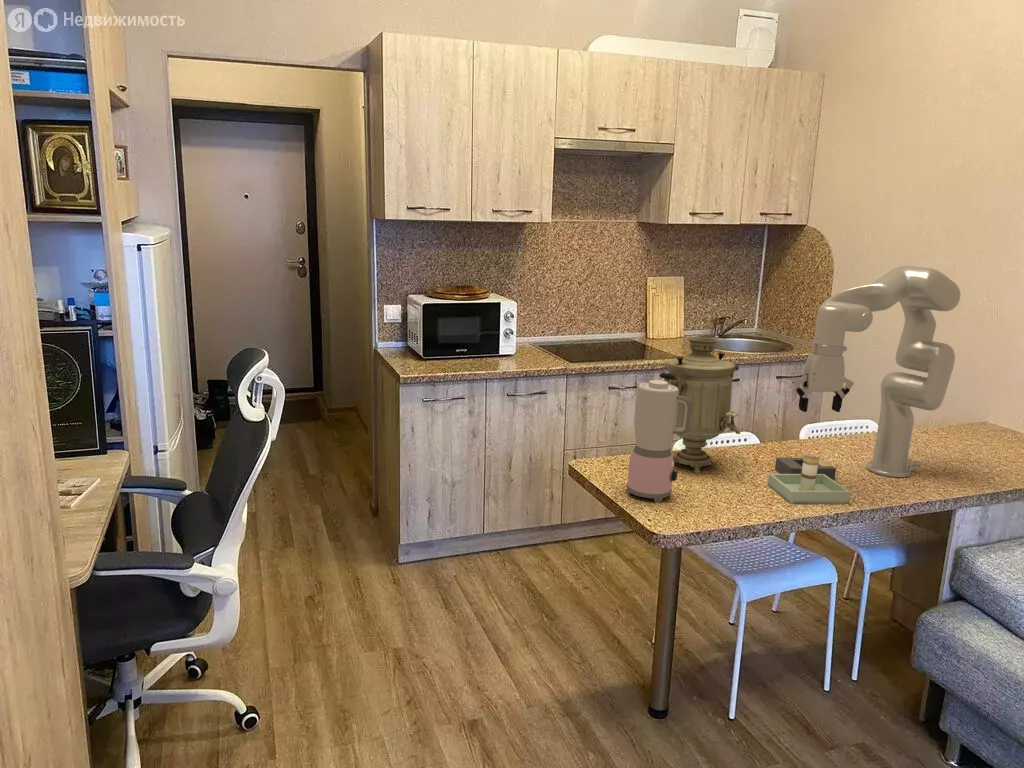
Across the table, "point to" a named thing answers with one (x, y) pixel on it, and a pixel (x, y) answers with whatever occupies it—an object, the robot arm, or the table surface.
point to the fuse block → (796, 467)
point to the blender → (655, 439)
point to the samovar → (702, 398)
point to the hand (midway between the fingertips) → (819, 410)
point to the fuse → (809, 473)
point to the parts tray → (823, 493)
